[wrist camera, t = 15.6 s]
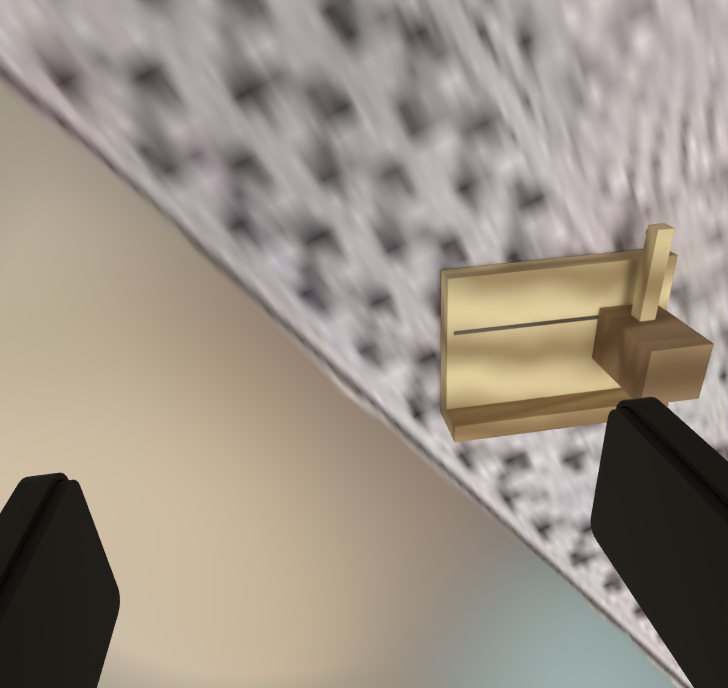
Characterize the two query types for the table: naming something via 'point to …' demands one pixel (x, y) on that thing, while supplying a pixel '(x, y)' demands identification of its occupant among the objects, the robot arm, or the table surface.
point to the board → (531, 342)
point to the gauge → (651, 335)
